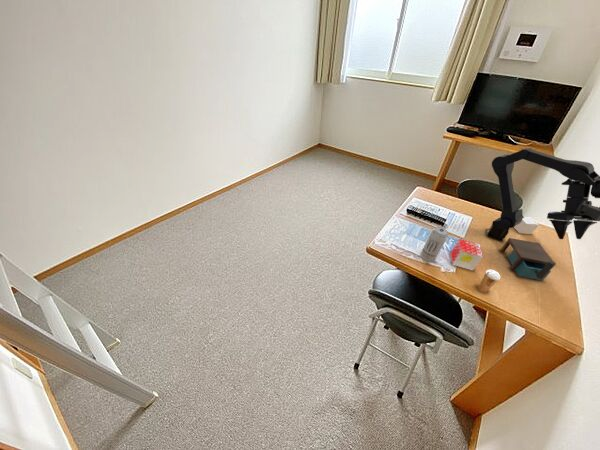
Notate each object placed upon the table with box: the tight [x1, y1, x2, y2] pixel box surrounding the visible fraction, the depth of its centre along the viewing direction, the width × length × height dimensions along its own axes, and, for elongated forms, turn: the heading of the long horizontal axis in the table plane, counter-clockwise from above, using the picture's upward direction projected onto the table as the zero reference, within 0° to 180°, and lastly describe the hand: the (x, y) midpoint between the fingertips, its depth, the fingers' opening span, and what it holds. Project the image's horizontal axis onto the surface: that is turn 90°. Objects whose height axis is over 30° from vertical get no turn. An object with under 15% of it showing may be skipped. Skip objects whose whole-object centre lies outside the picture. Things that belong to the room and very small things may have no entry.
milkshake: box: [477, 269, 501, 293], centre depth 99 cm, size 4×5×10 cm
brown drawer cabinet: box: [499, 237, 554, 271], centre depth 114 cm, size 12×12×8 cm
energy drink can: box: [419, 226, 449, 263], centre depth 109 cm, size 6×6×15 cm
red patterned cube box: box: [450, 238, 484, 271], centre depth 111 cm, size 8×8×8 cm
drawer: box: [507, 249, 557, 281], centre depth 108 cm, size 14×9×12 cm, turn 169°
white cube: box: [513, 216, 540, 235], centre depth 133 cm, size 6×6×6 cm
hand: (569, 239), depth 103 cm, fingers open, 9 cm apart
